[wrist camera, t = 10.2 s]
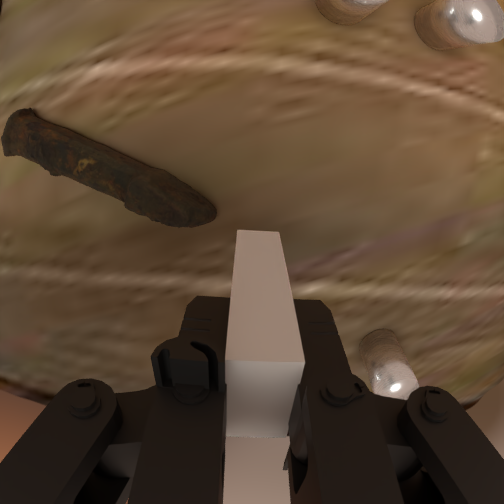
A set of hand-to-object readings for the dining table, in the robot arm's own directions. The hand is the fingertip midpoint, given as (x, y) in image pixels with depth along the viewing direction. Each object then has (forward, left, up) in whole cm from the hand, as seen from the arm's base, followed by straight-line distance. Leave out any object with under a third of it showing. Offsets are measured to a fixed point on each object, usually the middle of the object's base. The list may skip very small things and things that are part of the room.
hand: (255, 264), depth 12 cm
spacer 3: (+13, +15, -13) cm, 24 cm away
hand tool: (-11, +2, -13) cm, 18 cm away
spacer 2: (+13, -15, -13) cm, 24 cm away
